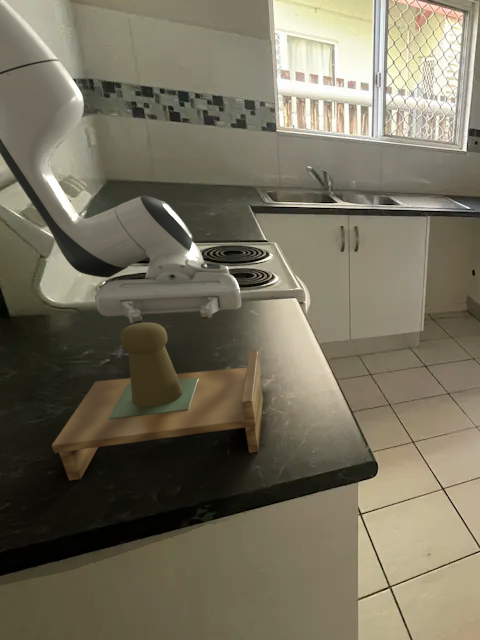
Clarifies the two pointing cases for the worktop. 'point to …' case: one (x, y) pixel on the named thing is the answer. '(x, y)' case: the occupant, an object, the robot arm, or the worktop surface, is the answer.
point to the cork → (150, 365)
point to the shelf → (162, 413)
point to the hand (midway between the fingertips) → (171, 316)
